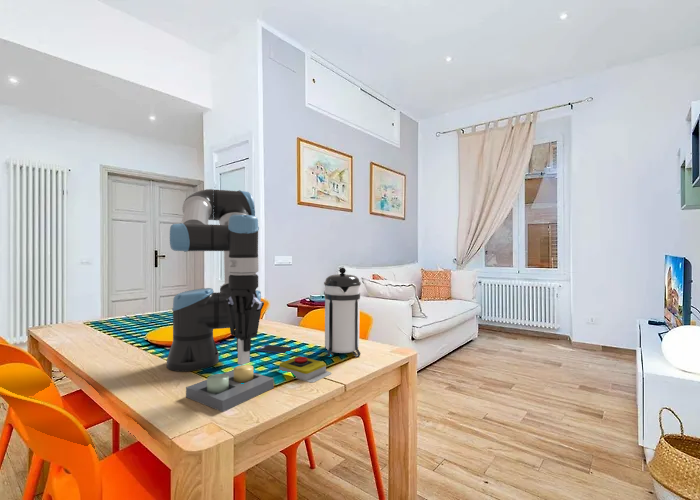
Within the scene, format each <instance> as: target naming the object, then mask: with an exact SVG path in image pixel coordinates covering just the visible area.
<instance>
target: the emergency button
mask: <svg viewBox="0 0 700 500" xmlns="http://www.w3.org/2000/svg"><path fill="white" fill-rule="evenodd" d="M278 370H282V371H287V372H291V373H293V374H294V375H295V376H296V377H297V378H296V379H297V380H299V381H304V382H307V383H311V384H312V383H317V381H320V380H322V379H324V378H326V377H329V376H331V375H332V373H333V372H331V371H327V364H326V362H323V361H320V360H316V359H312V358H308V357H305V356H296V357H293V358H290V359H288V360H285V361H281V362H279V369H278Z"/></svg>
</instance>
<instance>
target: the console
mask: <svg viewBox="0 0 700 500" xmlns="http://www.w3.org/2000/svg"><path fill="white" fill-rule="evenodd" d="M223 374H227V375H228V376H229V389H228V390H227V391H224V392H222V393H219V394H211V393H208V392H207V379H205V380H202V381H200V382H196V383H194V384H191V385H188V386H186V387H185V397H186V398H188V399H190V400H192V401H195V402H198V403H200V404H202V405H205V406H207V407H210V408H212V409H215V410H217V411H219V412H225V411H228V410H230V409H232V408H234V407H236V406H238V405H240V404H242V403H245V402H247V401H250V399H253V398H255V397H257V396H259V395H261V394H264V393H266V392H269V391H270V390H272V389H274V387H275V385H274V383H275V381H274V380H275V379H274V378H273V377H270V376H265V375H264V374H263V375H262V374H260V373H255V372H253V380H251V381H248V382H246V383H244V384H241V383H238V382H235V381H234V369H232V370H230V371H226V372H224V373H223Z"/></svg>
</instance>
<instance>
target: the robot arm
mask: <svg viewBox="0 0 700 500" xmlns="http://www.w3.org/2000/svg"><path fill="white" fill-rule="evenodd" d="M181 208H182V209H181V210H182V213H183V217H182V221H181V222H180V223H173V224H171V225H170V228H169V245H170V249H171V250H172V251H175V252H184V253H185V252H186V253H187V252H223V260H224V262H223V264H224V268H223V270H224V283H223V284H222V285H221V286H220V287H219V292H214V289H213V288H212V287H206V288H205V287H203V288H196V289H190V290H186V291H182V292H179V293H177V294H176V295H174V297H173V299H172V300H173V301H172V304H173V305H172V308H171V310H172V344H171V346H170V349H169V353H168V356H167V358H166V368H167V369H168V370H170V371H174V372H193V371H194V372H195V371H200V370H205V369H207V368H208V369H209V368H210V367H213V366H215V365H216V364H218V363H219V361H220V360H219V359H220V355H219V354H220V353H219V350H218V348H217V344H216V342H215V339H214V330H218V329H229V331H230V336H234V337H235V338H236V350H237V364H238V365H239V366H240V365H247V364H248V363H250V361H251V359H250V355H251V354H250V353H251V350H252V339H253V338H255V337H257V335H258V332H259V324H260V320H261V314H262V311H263V310H262V309H263V307H264V305H265V302H264V301H263V300H262V294H261V293H262V291H260V290H257V289H258V288H259V275H258V273H259V229H260V227H259V219H258V217H257V215H256V209H255V201H254V197H253V195H252V194H251V193H250V192H249V191H246V190H245V191H244V190H240V189H239V190H227V189H225V190H224V189H212V188H210V189H203V190H202V189H201V190H199V191H195V192H193V193H192V194H190V195H189V196H187V197H186V199H185V200H183V203H182V207H181ZM209 221H218V222H219V224H209Z"/></svg>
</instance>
